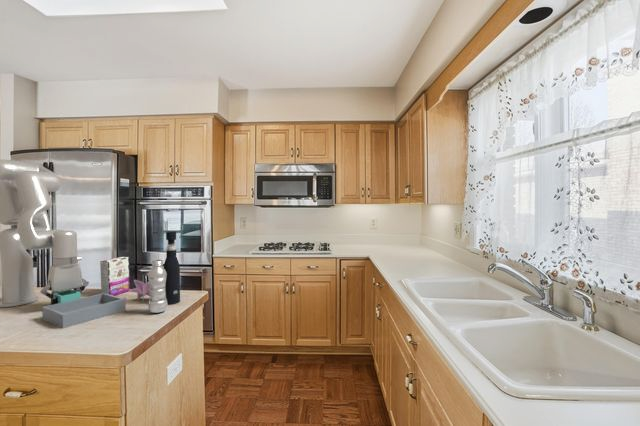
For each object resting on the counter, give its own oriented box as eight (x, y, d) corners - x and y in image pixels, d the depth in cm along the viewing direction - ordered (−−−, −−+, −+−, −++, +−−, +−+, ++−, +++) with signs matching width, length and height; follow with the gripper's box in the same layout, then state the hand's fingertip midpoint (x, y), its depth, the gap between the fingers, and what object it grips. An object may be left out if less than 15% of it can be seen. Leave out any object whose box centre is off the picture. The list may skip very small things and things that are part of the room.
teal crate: (51, 308, 120) (51, 293, 120) (70, 303, 126) (70, 289, 126) (61, 311, 116) (60, 296, 116) (80, 307, 122) (80, 292, 122)
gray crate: (42, 319, 108) (42, 307, 108) (104, 303, 126) (104, 293, 126) (63, 328, 101) (62, 315, 101) (125, 310, 118) (125, 298, 118)
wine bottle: (168, 299, 131) (167, 231, 130) (183, 300, 131) (182, 231, 130) (160, 304, 125) (159, 232, 124) (175, 304, 125) (174, 232, 124)
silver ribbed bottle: (171, 310, 118) (171, 259, 118) (157, 316, 112) (156, 262, 112) (158, 308, 121) (158, 258, 120) (144, 314, 114) (143, 261, 114)
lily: (166, 301, 132) (166, 280, 136) (146, 298, 122) (146, 275, 126) (142, 308, 134) (142, 287, 138) (120, 306, 123) (121, 283, 127)
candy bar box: (121, 290, 146) (120, 256, 146) (130, 290, 145) (129, 256, 145) (100, 297, 135) (99, 260, 135) (109, 297, 134) (108, 261, 134)
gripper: (85, 257, 130) (86, 298, 130) (32, 264, 115) (34, 310, 115) (94, 258, 126) (95, 301, 127) (41, 266, 111) (42, 314, 112)
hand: (66, 305), depth 121 cm, fingers closed on teal crate, 6 cm apart
